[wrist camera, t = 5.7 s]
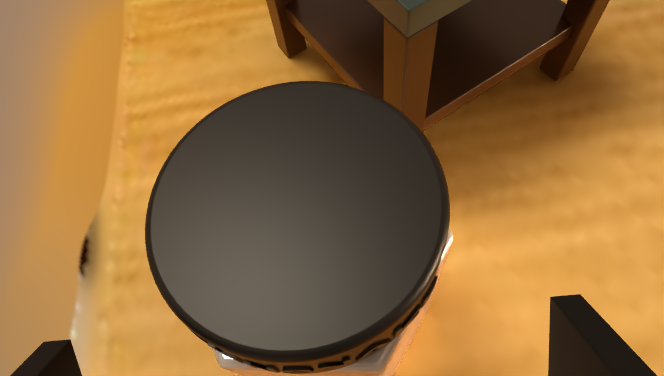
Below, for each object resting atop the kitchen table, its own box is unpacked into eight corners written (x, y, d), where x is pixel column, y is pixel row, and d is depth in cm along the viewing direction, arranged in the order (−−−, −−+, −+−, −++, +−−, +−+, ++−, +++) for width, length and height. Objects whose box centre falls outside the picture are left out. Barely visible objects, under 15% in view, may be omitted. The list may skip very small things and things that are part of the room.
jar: (233, 396, 21) (89, 360, 11) (253, 230, 25) (159, 83, 15) (433, 402, 21) (487, 369, 10) (423, 229, 24) (454, 72, 14)
